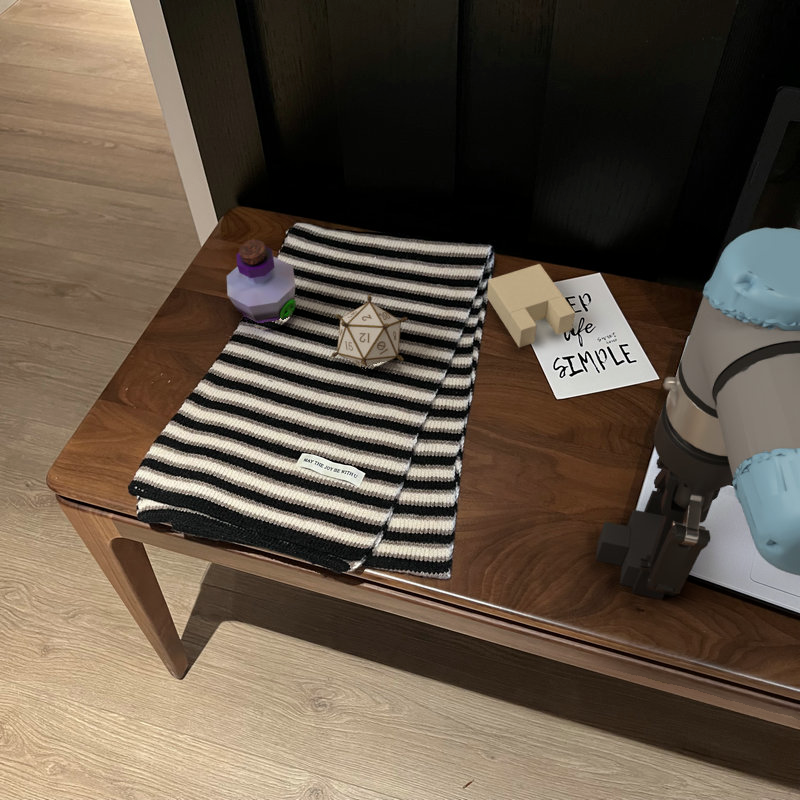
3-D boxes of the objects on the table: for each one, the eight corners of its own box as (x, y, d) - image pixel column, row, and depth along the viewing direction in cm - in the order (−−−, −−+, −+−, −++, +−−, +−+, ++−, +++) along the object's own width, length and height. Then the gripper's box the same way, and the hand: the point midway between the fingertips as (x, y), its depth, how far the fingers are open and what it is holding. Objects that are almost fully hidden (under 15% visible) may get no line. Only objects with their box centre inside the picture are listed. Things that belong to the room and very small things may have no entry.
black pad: (677, 540, 76) (687, 520, 73) (674, 596, 73) (684, 578, 69) (599, 524, 78) (606, 503, 74) (593, 578, 74) (599, 559, 71)
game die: (369, 366, 97) (370, 286, 94) (420, 379, 92) (423, 294, 89) (315, 378, 91) (315, 293, 88) (367, 393, 85) (368, 302, 82)
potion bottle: (293, 350, 94) (276, 279, 85) (226, 340, 96) (202, 269, 86) (313, 299, 99) (299, 227, 90) (249, 291, 101) (229, 218, 91)
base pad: (570, 335, 94) (575, 312, 91) (518, 352, 93) (521, 330, 89) (536, 286, 99) (539, 263, 96) (486, 302, 98) (488, 279, 94)
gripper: (670, 317, 63) (619, 471, 81) (654, 519, 52) (599, 645, 70) (768, 332, 61) (694, 486, 79) (774, 544, 50) (686, 666, 68)
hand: (649, 560), depth 75 cm, fingers closed on black pad, 6 cm apart
